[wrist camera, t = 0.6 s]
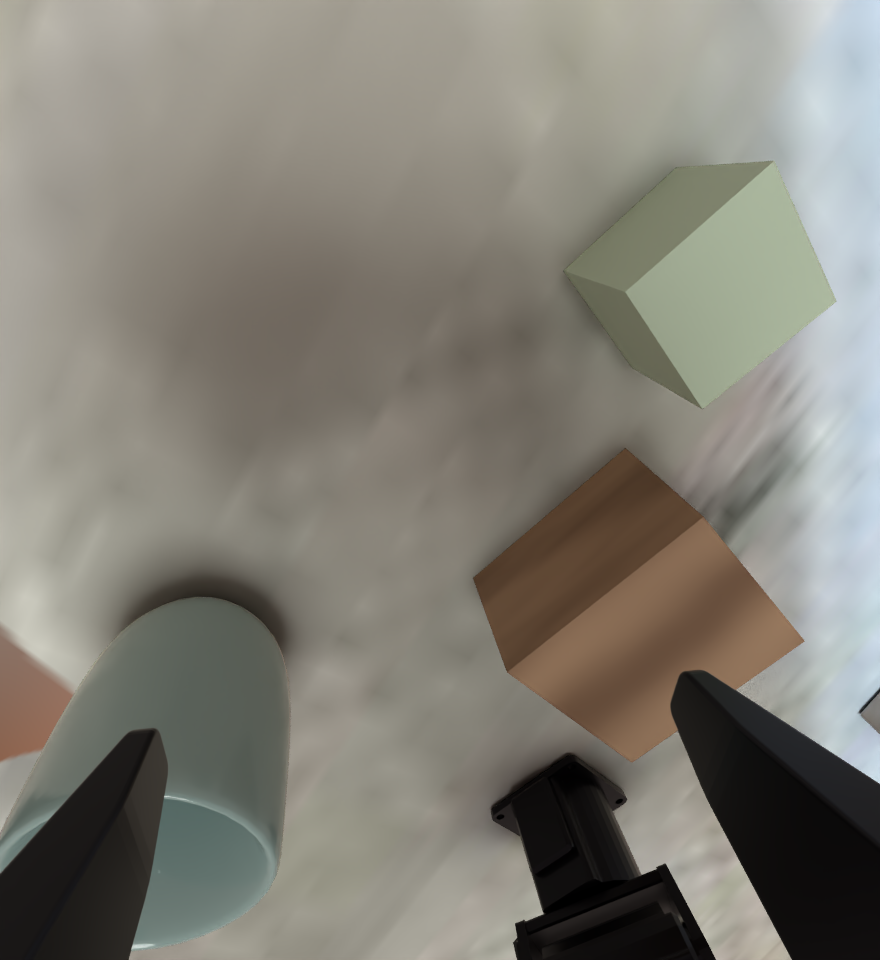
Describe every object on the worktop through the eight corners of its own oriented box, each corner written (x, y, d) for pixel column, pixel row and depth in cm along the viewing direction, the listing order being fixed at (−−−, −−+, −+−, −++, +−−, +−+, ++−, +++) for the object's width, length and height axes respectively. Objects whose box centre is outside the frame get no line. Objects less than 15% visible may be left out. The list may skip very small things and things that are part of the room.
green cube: (735, 279, 22) (836, 301, 17) (631, 367, 23) (702, 409, 18) (675, 167, 20) (774, 160, 15) (562, 270, 20) (625, 292, 16)
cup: (221, 537, 23) (153, 751, 14) (329, 651, 27) (328, 877, 18) (68, 627, 24) (-88, 884, 15) (193, 726, 27) (128, 978, 19)
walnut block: (717, 557, 28) (804, 641, 23) (579, 663, 30) (631, 762, 25) (623, 446, 24) (703, 516, 19) (472, 575, 26) (506, 672, 21)
